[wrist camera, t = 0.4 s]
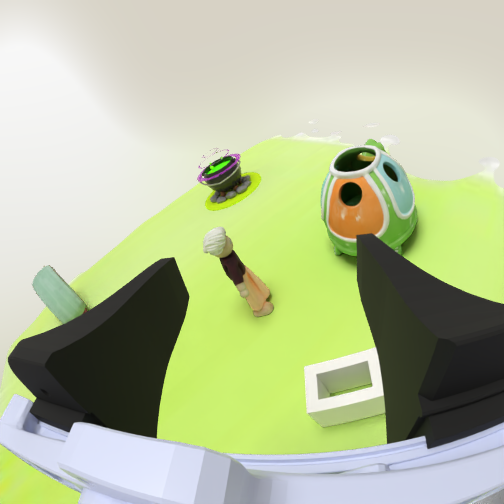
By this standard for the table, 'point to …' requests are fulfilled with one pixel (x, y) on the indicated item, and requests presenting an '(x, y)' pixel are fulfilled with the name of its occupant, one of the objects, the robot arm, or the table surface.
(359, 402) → the duct sleeve
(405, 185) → the turtle holder
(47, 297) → the toy snail
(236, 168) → the toy cauldron
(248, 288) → the grandmother figurine
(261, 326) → the table surface
